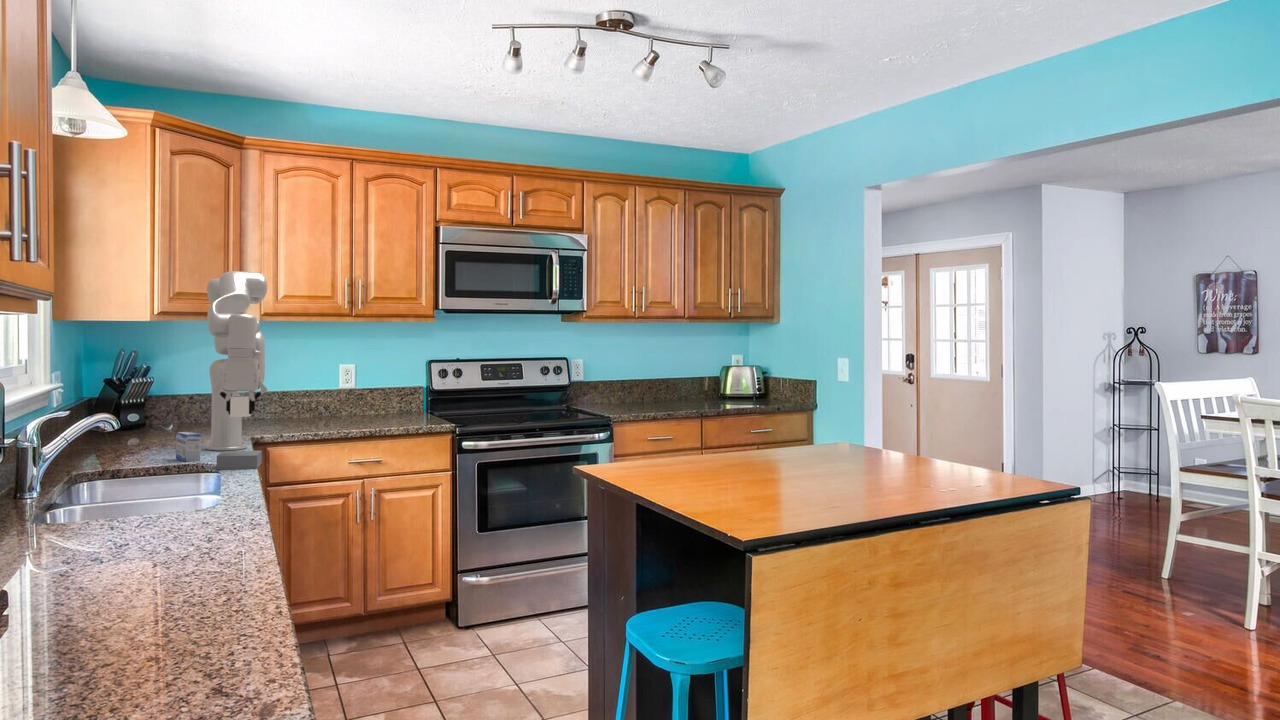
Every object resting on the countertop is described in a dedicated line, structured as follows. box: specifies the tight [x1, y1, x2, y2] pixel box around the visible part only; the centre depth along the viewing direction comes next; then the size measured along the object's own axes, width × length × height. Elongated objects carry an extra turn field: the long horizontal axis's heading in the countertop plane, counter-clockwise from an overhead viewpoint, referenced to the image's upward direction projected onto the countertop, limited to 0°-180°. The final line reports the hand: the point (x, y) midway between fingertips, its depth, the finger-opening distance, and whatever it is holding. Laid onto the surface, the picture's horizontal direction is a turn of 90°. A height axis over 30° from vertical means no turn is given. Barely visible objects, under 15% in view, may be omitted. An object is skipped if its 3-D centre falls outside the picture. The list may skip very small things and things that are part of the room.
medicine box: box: [175, 431, 202, 463], centre depth 251 cm, size 8×4×9 cm, turn 52°
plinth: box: [215, 450, 263, 471], centre depth 241 cm, size 11×11×4 cm
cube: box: [230, 395, 252, 418], centre depth 241 cm, size 5×5×6 cm
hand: (240, 413), depth 241 cm, fingers closed on cube, 5 cm apart
